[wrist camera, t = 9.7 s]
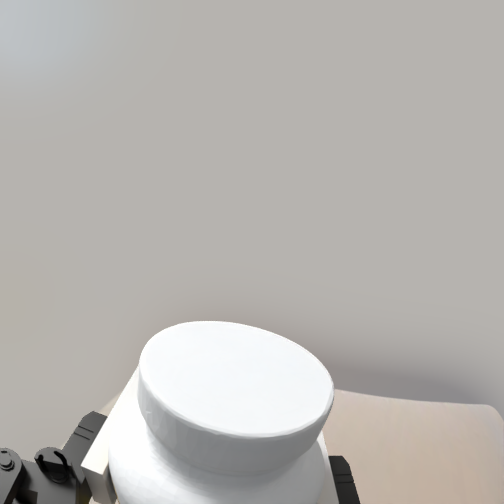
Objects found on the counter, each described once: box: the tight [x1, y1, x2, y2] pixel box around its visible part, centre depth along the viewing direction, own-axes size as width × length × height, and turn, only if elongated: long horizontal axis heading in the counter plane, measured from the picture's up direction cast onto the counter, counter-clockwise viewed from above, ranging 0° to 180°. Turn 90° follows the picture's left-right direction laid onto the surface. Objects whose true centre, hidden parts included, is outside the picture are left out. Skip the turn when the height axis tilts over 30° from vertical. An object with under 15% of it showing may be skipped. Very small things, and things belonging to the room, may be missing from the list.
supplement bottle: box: [108, 321, 334, 504], centre depth 8 cm, size 7×7×13 cm
